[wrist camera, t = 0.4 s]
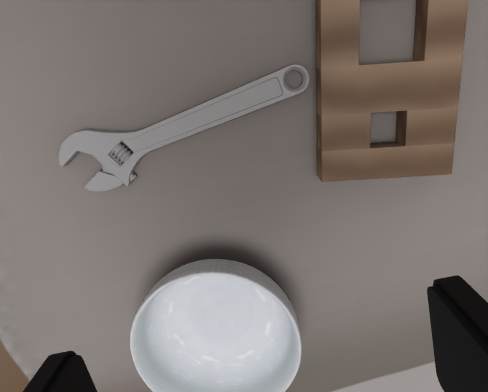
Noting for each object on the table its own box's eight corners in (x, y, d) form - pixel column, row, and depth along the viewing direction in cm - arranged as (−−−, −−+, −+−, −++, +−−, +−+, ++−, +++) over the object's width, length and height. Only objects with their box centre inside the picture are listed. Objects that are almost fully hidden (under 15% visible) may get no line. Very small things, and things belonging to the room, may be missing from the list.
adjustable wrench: (302, 59, 36) (305, 58, 35) (319, 125, 38) (322, 127, 36) (59, 137, 39) (50, 140, 37) (85, 196, 41) (78, 201, 39)
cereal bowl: (127, 257, 42) (103, 292, 35) (277, 225, 41) (282, 255, 34) (171, 381, 47) (158, 433, 40) (307, 356, 46) (317, 405, 39)
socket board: (315, -27, 34) (320, -34, 31) (456, -38, 33) (472, -46, 31) (317, 175, 39) (322, 181, 37) (439, 167, 39) (451, 174, 36)
